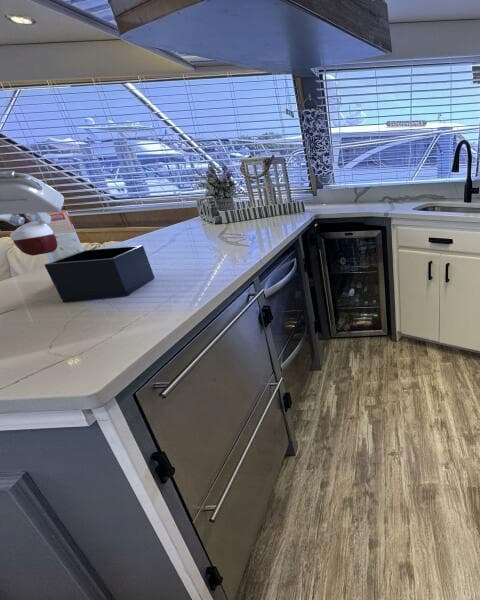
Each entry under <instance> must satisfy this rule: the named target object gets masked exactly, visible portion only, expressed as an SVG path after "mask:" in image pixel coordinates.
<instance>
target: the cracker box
mask: <svg viewBox="0 0 480 600" xmlns="http://www.w3.org/2000/svg"><path fill="white" fill-rule="evenodd" d="M46 214H47V215H49V216H50V217H51V222H50V224H46V225H47V226H49V227H50V228H51V230H52V231H53V234H54V235H55V237H56V240H57V245H58V246H57V249H56V250H55V251H54V252H50V253H45V254H44V255H45V257H46V259H47V261H48V263H50V262H53V261H56V260H59V259H62V258H64V257H67V256H70V255H73V254H76V253H78V252H81V251H84V250H85V249H84V247H83V246H82V243H81V241H80V239H79V236H78V234H77V231H76V229H75V227H74V224H73V222H72V220H71V217H70V215H69V212H68V210H62V209H61V210H60V211H59V212H48V213H46ZM25 216H26V217H27V219H28V220H29V222H36V221H35V220H34V218H35V217H36V216H35V215H31V214H29V213H26V214H25Z"/></svg>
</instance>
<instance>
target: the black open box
mask: <svg viewBox="0 0 480 600" xmlns="http://www.w3.org/2000/svg"><path fill="white" fill-rule="evenodd" d="M83 250H84V251H81V252H78V253H76V254H73V255H70V256H67V257H64V258H62V259H59V260H56V261H53V262H50V263H49V262H47V263H44V267H45V269H46V272H47V273H48V276H49V278H50V280H51V282H52V283H53V286H54V288H55V290H56V291H57V293H58V296H59V297H60V299H61V301H62V303H64V304H65V303H71V302H72V303H73V302H82V301H92V300H102V299H103V300H104V299H112V298H121V297H129V296H130V295H131V294H133V293H135V292H136V291H138V290H139V289H141V288H142V287H144V286H145V285H147V284H149V283H150V282H151V281H153V280H154V279H155V277H156V276H155V275H154V272H153V269H152V267H151V264H150V261H149V258H148V255H147V252H146V250H145V247H144V245H133V246H120V247H119V246H118V247H107V248H106V247H105V248H95V249H83Z"/></svg>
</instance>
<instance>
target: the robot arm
mask: <svg viewBox="0 0 480 600" xmlns="http://www.w3.org/2000/svg"><path fill="white" fill-rule="evenodd" d="M64 202H65V197H64V195H63V194H61V192H59V191H58V190H56V189H54V188H53V187H51V186H50V185H48V184H47V183H45V182H43V181H42V180H41V179H38V178H36V177H34V176H33V175H30V174H26V173H21V172H16V171H13V170H4V171H0V221H3V222H7V223H8V224H10V225H12V226H20V225H23V224H24V222H25V219H24V218H23V217H21V216H20V215H18V214H25V215H26V213H29V214H31V215H35V216H36V217H35V218H34V220H35V221H36V222H39V223H40V224H50V222H51V217H50V216H49V215H47V214H46V213H48V212H59V211H60V210H62V209H63V206H64Z"/></svg>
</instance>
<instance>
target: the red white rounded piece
mask: <svg viewBox="0 0 480 600" xmlns="http://www.w3.org/2000/svg"><path fill="white" fill-rule="evenodd" d="M18 215H20V216H21V217H23V218H24V219H25V222H24V224H23V225H19V227H17V228H16V229H15V230H14V231H12V232H10V234H9V238H10V239H11V240H12V242H13V244H14V245H15V247H17V248H18V250H20V251H21V253H23V254H25V255H28V256H31V257H32V256H39V255H46V254H45V253H50V252H54V251H55V250H56V249H57V246H58V245H57V240H56V237H55V235H54V234H53V231H52V230H51V228H50V227H49V226H47V225H46V224H40V223H39V222H30V221H29V219H28V217H27V215H26V214H18Z"/></svg>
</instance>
